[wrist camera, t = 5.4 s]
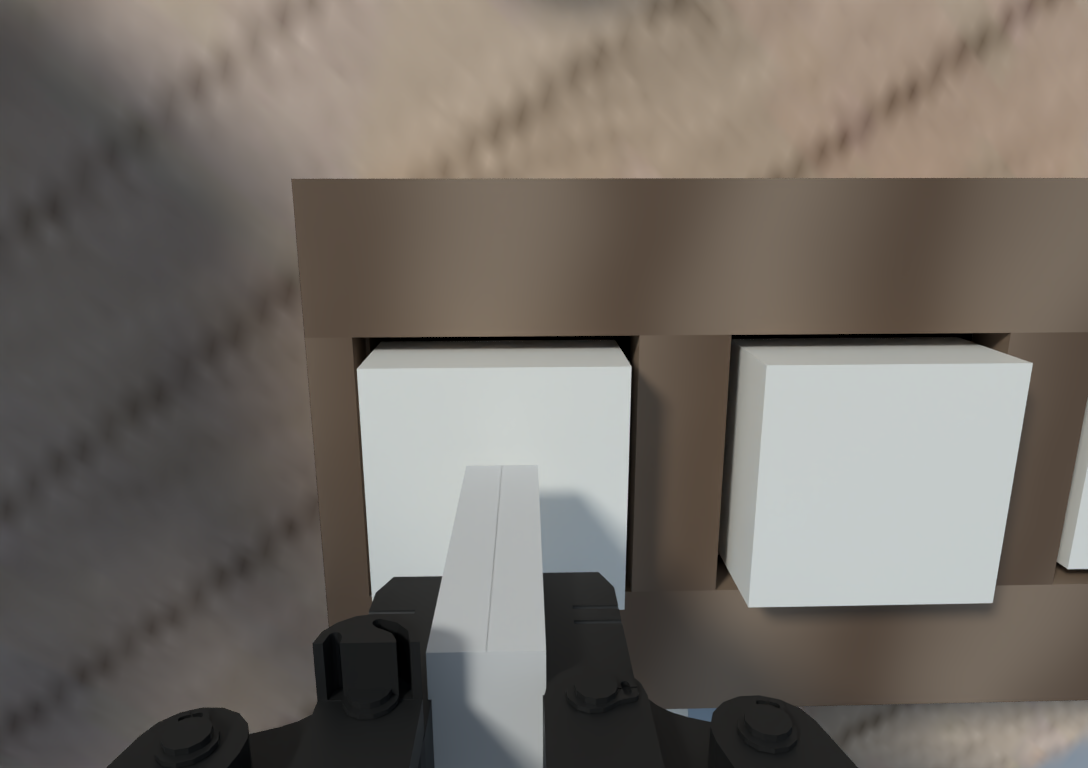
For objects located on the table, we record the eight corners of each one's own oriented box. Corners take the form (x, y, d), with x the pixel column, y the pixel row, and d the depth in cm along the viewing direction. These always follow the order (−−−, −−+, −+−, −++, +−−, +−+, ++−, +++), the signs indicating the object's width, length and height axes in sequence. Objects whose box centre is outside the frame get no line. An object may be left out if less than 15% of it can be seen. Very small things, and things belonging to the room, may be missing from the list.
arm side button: (393, 554, 21) (372, 614, 18) (381, 341, 19) (356, 368, 16) (610, 550, 21) (624, 609, 18) (614, 339, 19) (631, 366, 17)
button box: (379, 591, 27) (336, 716, 20) (353, 181, 23) (291, 179, 17) (1125, 578, 27) (1306, 695, 21) (1212, 180, 24) (1460, 177, 18)
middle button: (716, 549, 21) (748, 607, 18) (730, 338, 20) (767, 365, 17) (928, 545, 21) (992, 602, 18) (957, 337, 20) (1032, 363, 17)
